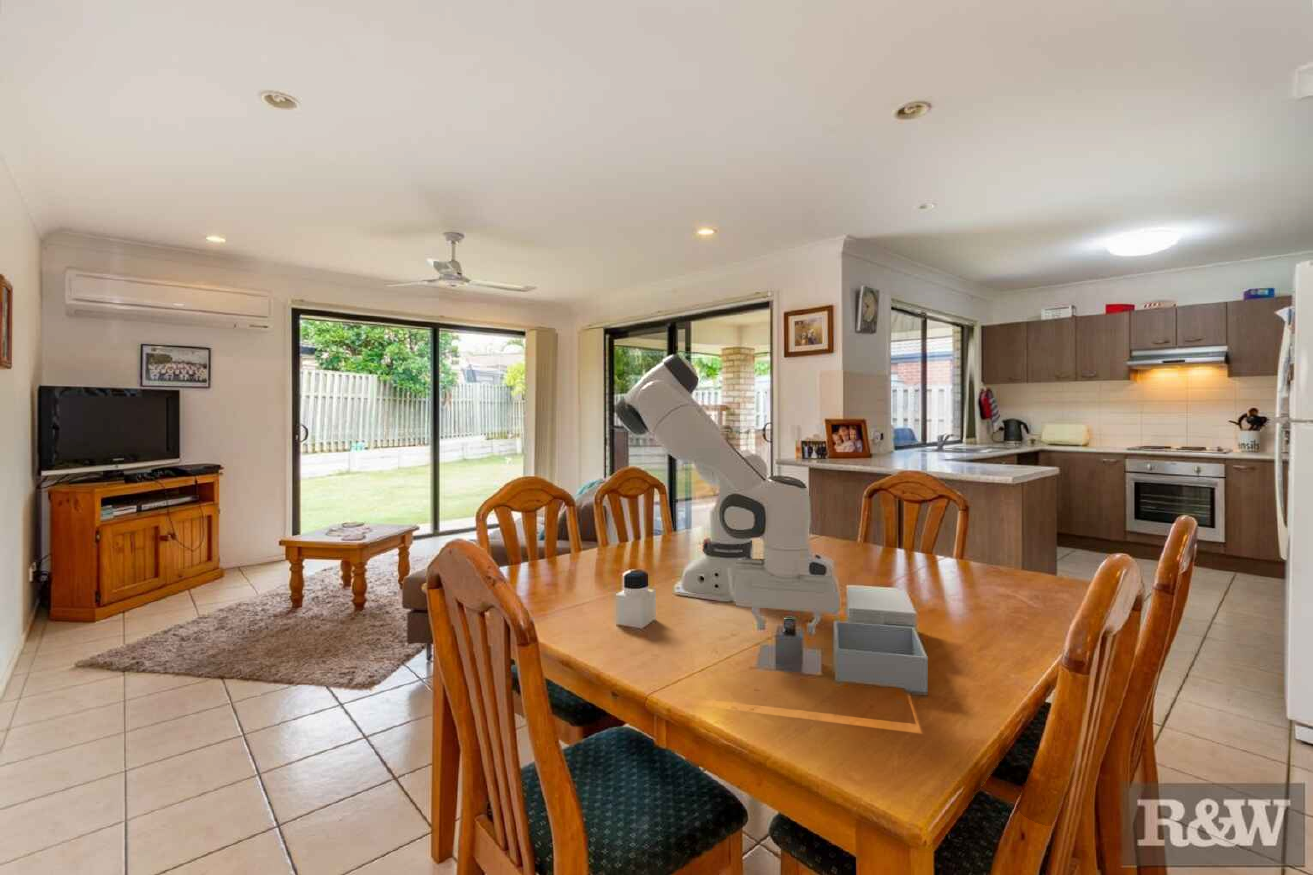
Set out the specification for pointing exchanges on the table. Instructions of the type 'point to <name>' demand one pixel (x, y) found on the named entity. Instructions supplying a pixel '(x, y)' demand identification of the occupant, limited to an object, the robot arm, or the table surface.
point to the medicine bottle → (635, 600)
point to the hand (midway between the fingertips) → (786, 631)
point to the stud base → (808, 666)
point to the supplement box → (880, 606)
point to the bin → (880, 656)
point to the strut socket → (789, 642)
